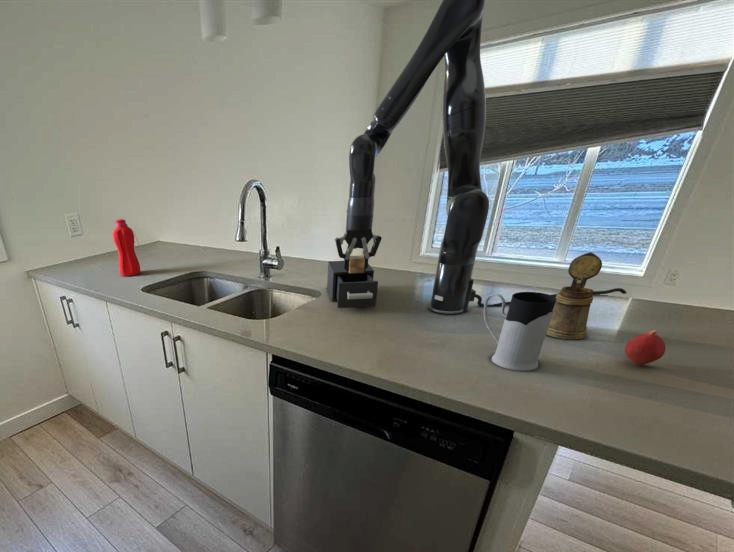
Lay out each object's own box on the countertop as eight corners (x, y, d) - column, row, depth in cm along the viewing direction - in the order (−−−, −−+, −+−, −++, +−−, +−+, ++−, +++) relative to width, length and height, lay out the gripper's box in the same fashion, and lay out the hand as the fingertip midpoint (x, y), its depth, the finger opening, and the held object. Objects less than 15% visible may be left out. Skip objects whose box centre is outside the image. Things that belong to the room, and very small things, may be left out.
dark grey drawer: (378, 311, 122) (381, 286, 118) (339, 313, 123) (341, 288, 119) (366, 292, 138) (368, 269, 134) (332, 294, 140) (333, 271, 136)
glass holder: (520, 374, 86) (542, 307, 78) (461, 351, 97) (475, 290, 90) (547, 364, 88) (570, 298, 81) (487, 342, 100) (502, 283, 92)
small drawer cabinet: (371, 299, 134) (374, 270, 130) (332, 301, 136) (333, 272, 131) (362, 286, 148) (364, 259, 143) (327, 287, 150) (328, 261, 145)
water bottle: (142, 275, 191) (131, 219, 179) (119, 277, 191) (107, 221, 179) (145, 270, 199) (136, 216, 187) (123, 272, 200) (112, 219, 187)
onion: (611, 360, 87) (626, 326, 83) (636, 357, 88) (652, 323, 84) (637, 372, 82) (654, 337, 78) (664, 369, 83) (682, 333, 79)
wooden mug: (587, 324, 104) (615, 253, 95) (584, 342, 96) (613, 266, 87) (545, 318, 110) (567, 250, 101) (538, 335, 101) (562, 262, 92)
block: (361, 269, 129) (362, 255, 127) (363, 272, 125) (365, 258, 123) (347, 269, 130) (348, 256, 127) (349, 273, 126) (350, 259, 124)
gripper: (336, 216, 117) (333, 274, 125) (388, 212, 115) (381, 272, 123) (333, 212, 123) (331, 268, 132) (382, 209, 121) (376, 266, 130)
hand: (355, 270), depth 127 cm, fingers closed on block, 4 cm apart
